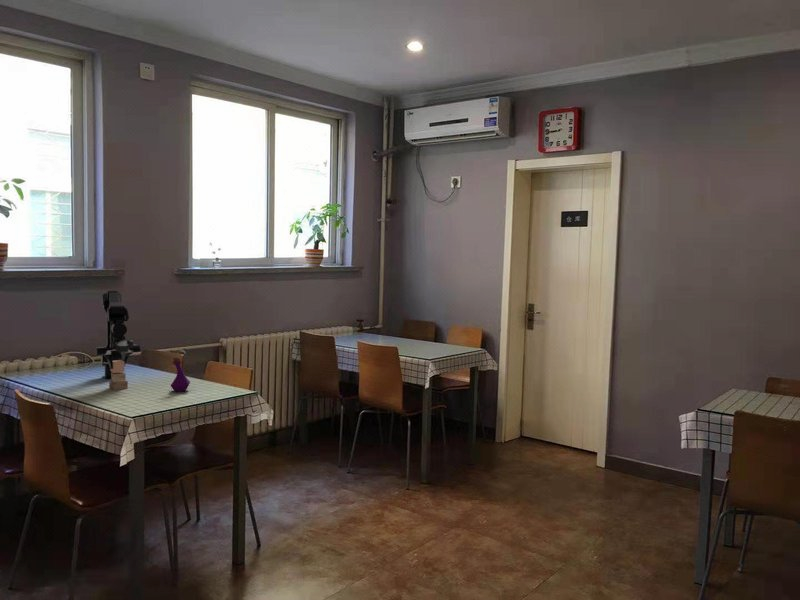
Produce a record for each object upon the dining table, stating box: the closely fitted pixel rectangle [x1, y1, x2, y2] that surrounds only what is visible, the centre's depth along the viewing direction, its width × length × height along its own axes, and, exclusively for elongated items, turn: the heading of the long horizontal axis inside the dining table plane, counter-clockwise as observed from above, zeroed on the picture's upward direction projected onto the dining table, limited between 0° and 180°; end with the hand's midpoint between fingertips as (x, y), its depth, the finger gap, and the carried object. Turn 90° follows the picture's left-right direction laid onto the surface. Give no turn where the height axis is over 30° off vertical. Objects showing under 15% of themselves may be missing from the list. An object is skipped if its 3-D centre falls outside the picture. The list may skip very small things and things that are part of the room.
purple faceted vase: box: [170, 349, 191, 393], centre depth 297 cm, size 8×8×18 cm
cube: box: [111, 360, 125, 373], centre depth 299 cm, size 4×4×4 cm
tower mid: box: [110, 371, 127, 382], centre depth 300 cm, size 5×5×4 cm
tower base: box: [108, 380, 129, 391], centre depth 300 cm, size 6×6×4 cm
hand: (117, 368), depth 299 cm, fingers open, 5 cm apart
